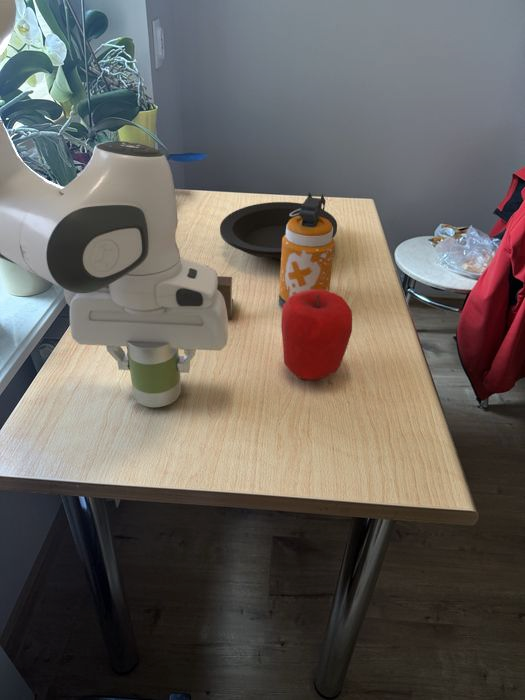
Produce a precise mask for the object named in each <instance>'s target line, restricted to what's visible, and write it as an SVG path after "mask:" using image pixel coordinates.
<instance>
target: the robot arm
mask: <svg viewBox="0 0 525 700" xmlns="http://www.w3.org/2000/svg"><path fill="white" fill-rule="evenodd" d="M16 16H17V4H16V0H0V56H2V54H3V52H5V50H6V48H7V46H8V44H9V42H10V40H11V38H12V35H13V32H14V28H15V25H16V19H17V17H16ZM173 177H174V176H173V174H172V170H171V166H170V164H169V161H168V159H167V157H166V156H165V154H164V153H163V152H161V151H160V150H159V149H157V148H154V147H152V146H148V145H146V144H141V143H138V142H130V141H120V140H110V141H109V140H108V141H104V142H101V143H98V144H96V145H95V146H94V148H93V153H92V156H91V158H90V159H89V161H88V162H87V164H86V166H85V167H84V169H82V171H81V172H80V173H78V175H77V176H76V177H75V178H74V179H73V180H71V181H70V182H69V183H68V184H66V185H65V186H61V185H59V184H56V183H53V182H51V181H50V180H48V179H46V178H45V177H43V176H41V175H40V174H38V173H37V172H35V171H34V170H33V169H32V168H31V167H29V166H28V165H27V164H26V163H25V162H24V161H23V159H22V158H21V156H20V155H19V153H18V151H17V148H16V147H15V144H14V143H13V140H12V138H11V137H10V134H9V131H8V130H7V128H6V125H5V123H4V121H3V119H2V118H1V117H0V259H2V260H5V261H7V262H10V263H11V264H16V265H17V266H19V267H22V268H23V269H25V270H27V271H29V272H31V273H32V274H34V275H36V276H38V277H40V278H42V279H44V280H46V281H48V282H50V283H52V284H53V285H55V286H57V287H59V288H61V289H63V295H64V299H65V302H66V304H67V305H68V306H69V329H70V334H71V335H70V336H71V338H72V339H73V340H74V341H75V342H76V343H77V344H78V345H83V346H103V347H104V346H106V351H107V353H108V354H109V355H110V356H112V358H113V359H114V360H115V361H117V367H118V370H119V371H130V367H129V361H128V354H127V352H125V351H124V350H123V347H126V348H127V341H140V342H163V343H170V348H172V349H178V350H184V355H179V360H178V362H177V367H178V372H180V373H183V374H184V373H185V374H189V373H190V369H191V361H192V359H193V358H194V357H195V356H196V353H197V352H196V351H200V350H201V351H217V352H218V351H222V350H223V349H224V348H225V347H226V346H227V344H228V340H229V320H228V317H227V310H226V305H225V301H224V298H223V296H222V294H221V293H220V291H219V290H217V286H218V276H219V275H218V272H217V271H216V269H214V268H212V267H209V266H206V265H204V264H200V263H198V262H194V261H191V260H189V259H186V258H184V257H182V256H181V251H180V249H179V246H178V244H177V239H176V235H177V234H176V233H177V228H178V223H179V221H178V207H177V206H178V205H177V197H176V189H175V184H174V183H175V182H174V178H173Z"/></svg>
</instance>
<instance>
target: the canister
mask: <svg viewBox="0 0 525 700" xmlns="http://www.w3.org/2000/svg"><path fill="white" fill-rule="evenodd" d="M326 203H327V202H326V199H325V196H324V194H323V193H322V194H321V197H319V198H318V197H313V196H312V194H311V193H310V192H308V194H307V197H306V199H305V200H304V202H302V203H301V204H302V205H301V209H298V210H295V211H293V212H292V213H290V216H296V215H299V216H296V217H293V218H292V219H290V220H289V222H288V224H287V225H286V235H284V236H283V238H282V253H281V259H280V271H279V275H280V276H279V288H278V289H279V291H278V303H279V305H280V306H281V308H283V305H284V304H285V303H286V301H287V300H288V299H289V298H290V297H291V296H293V295H294V294H296V293H299V292H302V291H307V290H312V289H316V290H326V291H329V292H330V289H331V280H332V272H333V263H334V254H335V248H336V247H335V245H336V241H335V238H334V237H333V238H332V236H333V227H332V224H331V222H330V221H329V220H327V219H325V218H323V214H324V211H325V208H326ZM299 210H300V211H299ZM296 211H299V213H297V214H294V215H291V214H293V213H294V212H296Z"/></svg>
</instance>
